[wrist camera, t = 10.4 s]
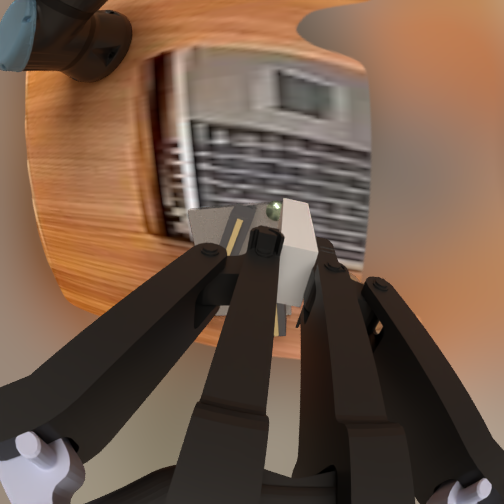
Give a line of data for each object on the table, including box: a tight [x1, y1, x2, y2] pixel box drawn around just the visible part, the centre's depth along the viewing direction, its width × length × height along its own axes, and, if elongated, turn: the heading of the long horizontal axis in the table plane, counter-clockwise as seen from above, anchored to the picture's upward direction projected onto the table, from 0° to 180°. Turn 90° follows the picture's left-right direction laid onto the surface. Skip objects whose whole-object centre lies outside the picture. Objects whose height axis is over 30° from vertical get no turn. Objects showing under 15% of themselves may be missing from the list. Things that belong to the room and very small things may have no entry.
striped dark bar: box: [219, 203, 256, 256], centre depth 43 cm, size 3×14×6 cm, turn 159°
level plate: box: [188, 201, 291, 315], centre depth 48 cm, size 22×16×2 cm
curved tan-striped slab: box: [274, 303, 286, 336], centre depth 46 cm, size 3×14×6 cm, turn 6°
